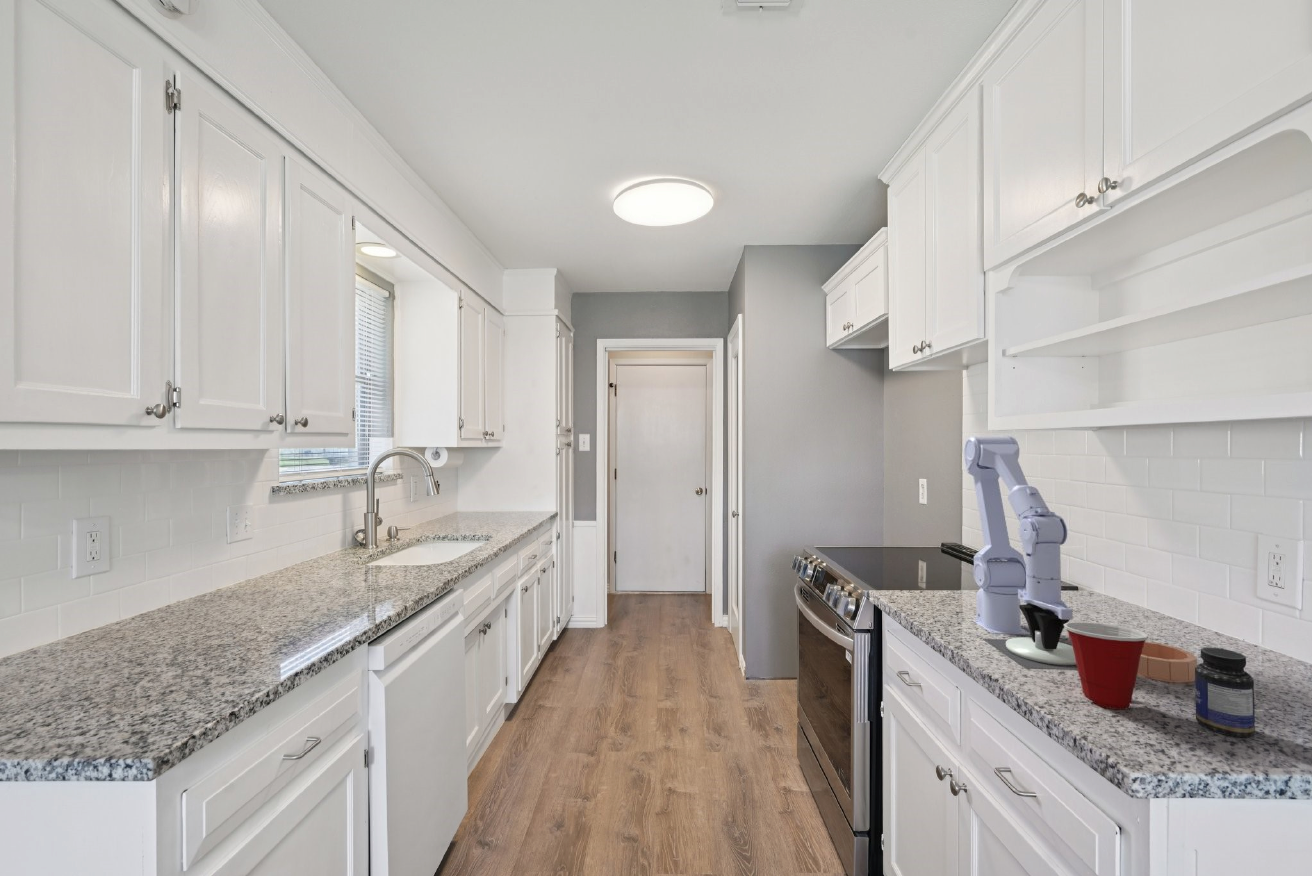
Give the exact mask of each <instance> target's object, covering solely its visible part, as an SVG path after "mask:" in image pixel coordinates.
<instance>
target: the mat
mask: <svg viewBox="0 0 1312 876" xmlns="http://www.w3.org/2000/svg"><path fill="white" fill-rule="evenodd" d="M1009 639H1010V638H1008V639H1007V638H1004V639H1003V638H982V640H983V641H985V643H988V644H989V645H991V646H992V647H994V648H995V649H996V650H997V651H999V652H1000V653H1002V654H1003V655H1005V656H1006V657H1007V658H1009V659H1010V660H1012V661H1013V662H1015V663H1016V664H1017V665H1019V666H1021V667H1022V668H1024V669H1028V670H1029V669H1032V670H1034V669H1035V670H1064V671H1065V670H1069V671H1070V670H1072V671H1073V670H1074V671H1078V669H1077V665H1055V664H1047V663H1042V662H1037V661H1033V660H1029V659H1026V658H1023V657H1020V656H1017V655H1015V654H1013V653H1011V652H1010V651H1008V650H1007V648H1006V641H1007V640H1009ZM1059 642H1060V643H1064V644H1067V645H1070V646H1072V644H1069V643H1067V642H1065V641H1064V640H1059Z"/></svg>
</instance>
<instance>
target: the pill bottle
mask: <svg viewBox="0 0 1312 876" xmlns="http://www.w3.org/2000/svg"><path fill="white" fill-rule="evenodd" d="M1200 658H1201V659H1202V662H1200V663H1197V666H1196V667H1195V680H1194V691H1195V692H1194V693H1195V700H1194V702H1195V719H1196V722H1197V723H1198V724H1199V725H1201V726H1202V727H1203V728H1206V729H1207V730H1209V731H1212V732H1215V733H1218V734H1222V735H1226V736H1230V737H1235V738H1251V737H1252V736H1254V734H1255V733H1256V730H1255V729H1256V726H1255V724H1256V723H1255V721H1256V717H1255V692H1254V689H1255V684H1254V683H1255V680H1254V677H1252V675H1251V674H1250V673H1248V672H1247V671H1245V670H1244V669H1245V667H1246V666H1247V657H1246V656H1245V655H1243V654H1242V653H1240V652H1237V651H1235V650H1230V649H1225V648H1219V647H1210V646H1209V647H1208V646H1206V647H1202V648H1200Z"/></svg>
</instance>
